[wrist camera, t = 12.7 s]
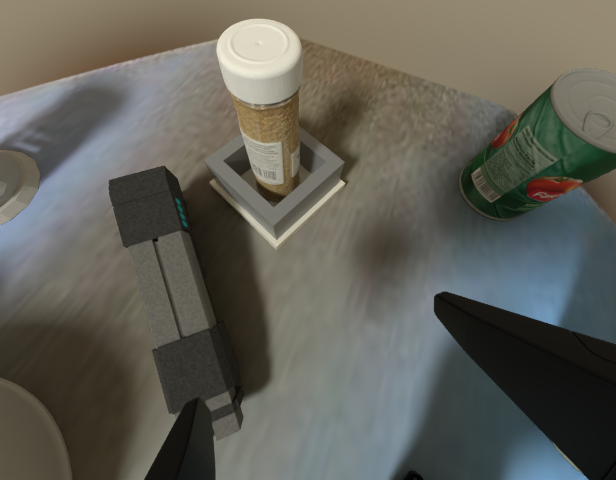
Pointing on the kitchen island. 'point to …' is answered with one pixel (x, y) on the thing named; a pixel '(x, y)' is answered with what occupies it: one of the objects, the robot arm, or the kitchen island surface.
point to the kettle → (29, 438)
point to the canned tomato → (547, 148)
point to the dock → (292, 209)
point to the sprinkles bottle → (266, 99)
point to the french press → (16, 183)
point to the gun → (177, 298)
